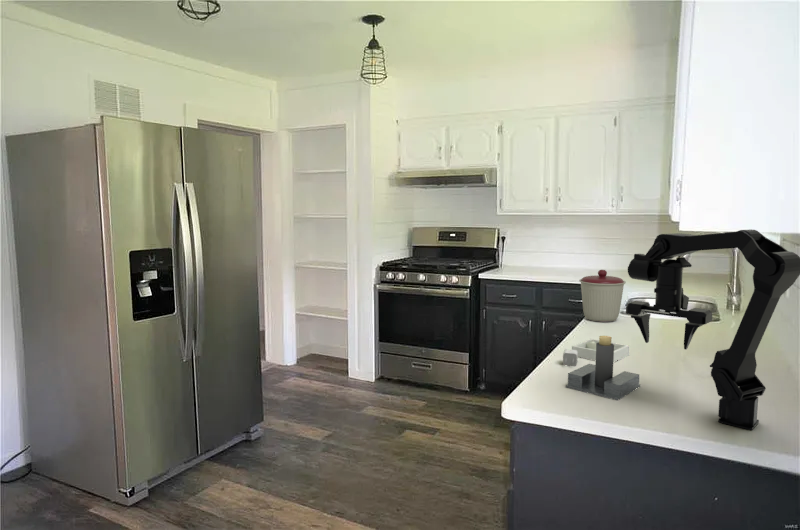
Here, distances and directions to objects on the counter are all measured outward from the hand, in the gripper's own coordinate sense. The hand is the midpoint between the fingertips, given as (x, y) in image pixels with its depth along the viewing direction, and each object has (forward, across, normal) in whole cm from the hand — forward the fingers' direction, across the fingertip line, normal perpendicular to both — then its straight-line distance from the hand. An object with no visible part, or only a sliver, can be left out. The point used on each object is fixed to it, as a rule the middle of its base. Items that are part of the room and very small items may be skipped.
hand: (665, 345), depth 136 cm
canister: (+14, +52, -76) cm, 93 cm away
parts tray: (+13, +28, -24) cm, 39 cm away
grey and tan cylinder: (+12, +14, +4) cm, 19 cm away
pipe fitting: (+14, +28, -25) cm, 40 cm away
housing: (+13, +14, +4) cm, 20 cm away
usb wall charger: (+13, +30, -8) cm, 34 cm away
